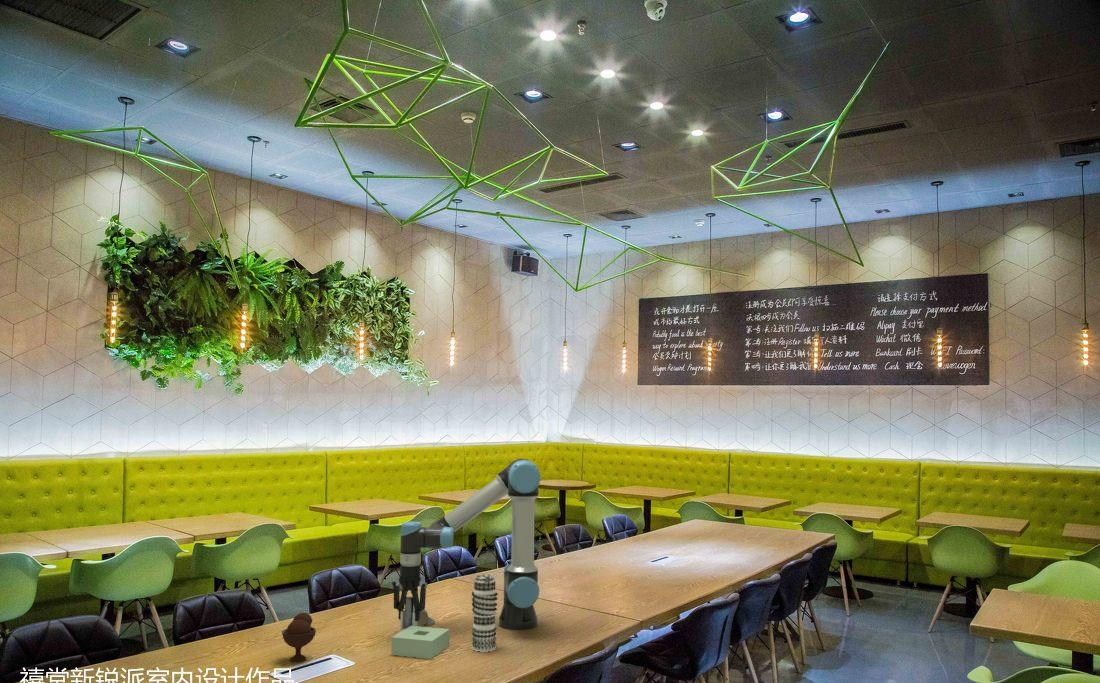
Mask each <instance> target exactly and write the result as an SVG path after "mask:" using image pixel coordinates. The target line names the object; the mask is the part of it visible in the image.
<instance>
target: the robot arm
mask: <svg viewBox="0 0 1100 683" xmlns="http://www.w3.org/2000/svg"><path fill="white" fill-rule="evenodd" d="M495 476H496V478H495V479H493V480H492V481H490V482H489V483H488V484H486V485H485V486H484V487H482V488H481V489H480V490H478V491H477V492H475V493H474V494H472V495H471V496H470V497H467V499H466V500H465V501H463V502H462V503H460V504H459V505H457V506H456V507H455V508H453V509H452V510H451V511H450V510H449V512H448V513H447V514H445V515H444V516H442V517H441V518H440V519H438V520H436V521H433V522H432V523H430V526H428V527H426V526H423V525H422V522H420V521H414V520H413V521H405V522H403V523H402V524H401V528H400V553H399V554H400V556H399V557H400V558H399V563H400V565H399V578H398V579H396V580H394V581H392V588H393V609H395V610H398V617H397V618H398V620H400V622H399V623H400V627H399V628H400V629H399V630H401V631H403V630H404V627H405V597H408V596H407V595H408V593H409V591H410V594H411V597H413V603H414V609H415V611H414V612H413V622H412V626H417V623H418V621H419V619H420V611H422V610H424V609H425V610H426V595H427V594H426V593H427V587H428V584H429V583H428V582H424V581H423V580H422V579H421V561H422V559H421V558H422V555H421V554H422V553H421V552H422V549H447V548H452V547H453V546H454V533H455V532H457V531H458V530H459V529H461V528H462V527H464V526H465V525H467V524H468V523H470V522H471V521H472V520H473V519H475V518H476V517H478V516H479V515H480V514H481V513H483V512H485V511H486V510H487V509H488V508H491V506H493V505H494V504H495V503H497V502H498V501H500V500H501V499H502V498H504V497H505V496H508V497H509V499H510V500H511V551H510V552H511V555H510V556H511V561H510V564H506V565H505V566H504V568H503V605H502V608H501V611H500V614H499V617H498V625H499V627H502V628H504V629H509V630H528V629H531V628H535V627H536V626H537V625H538V616H537V613H536V609H535V606H534V604H535V603H536V602H537V601H538V598H539V595H540V586H539V584H538V583H539V568H538V567H537V566H536V565H535V500H536V499H537V498H538V497H539V491H540V490H539V489H540V488H539V486H540V481H541V473H540V470H539V468H538V466H537V465H536V464H535V463H534V462H532V461H530V460H528V459H525V458H518V459H517V458H516V459H515V460H513V461H511V462H510V463H509V464H507V466H506V467H505V468H503V469H502V470H501V471H500V472H498V473H497V474H496V475H495ZM400 585H401V591H400ZM418 587H419V588H420V589H419V588H418ZM400 592H401V593H400ZM400 594H401V595H400Z"/></svg>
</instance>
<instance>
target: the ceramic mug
mask: <svg viewBox="0 0 1100 683" xmlns="http://www.w3.org/2000/svg"><path fill="white" fill-rule="evenodd" d="M414 611H415V609H414ZM435 622H436V621H435V620H434V618H431V617H430V616H429V614H428V612H427V609H426V608H425V609H424V610H422V611H420V619H419V621H418V623H417V626H421V627H425V625H427V624H428V625H431V626H432V625H434V624H435Z"/></svg>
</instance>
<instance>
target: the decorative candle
mask: <svg viewBox="0 0 1100 683" xmlns="http://www.w3.org/2000/svg"><path fill="white" fill-rule="evenodd" d="M496 581H497V579H496V578H495V577H494V576H493V574H479V575H476V577H475V578H474V579H473V582H474V583H473V584H474V585H473V586H474V587H473V591H471V596H472V598H471V602H472V603H471V605H472V609H471V610H472V616H473V624H472V626H473V627H472V629H471V630H472V633H471V634H472V638H471V640H472V642H471V646H472V647H471V650H472V649H473V650H472V651H474V650H475V651H474V652H477V651H480V652H479V653H489V652H488V651H490V652H493V650H494V651H495V650H496V649H497V647H496V646H497V637H496V635H497V631H496V630H497V628H496V615H497V612H496V611H497V610H498V608H497V606H498V604H497V603H496V601H497V600H498V595H499V594H498V593H497V592H496V591H497V588H496Z"/></svg>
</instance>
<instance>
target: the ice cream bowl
mask: <svg viewBox="0 0 1100 683" xmlns="http://www.w3.org/2000/svg"><path fill="white" fill-rule="evenodd" d="M313 621H314V620H313V618H312V616H311V615H310V614H309V613H307V612H299V613H297V614H296V615H295V616H294V617H293V620H292V621H290V623H289V625H288V626H287V628H285V629H284V630H281V634H282V639H283V640H284V641H283V642H285V643H286V644H287V646H289V647H292V648H293V649H294V648H295V654H294V655H293V656H291V657H289V662H291V663H302V662H303V663H304V662H305V661H306V660H307V658H306V656H305V655H303V654H302V648H303V647H306V646H307V645H308V644H310V643H311V642H312V641H313V640H314V638H315V636H316V632H317V630H316V628H315V627H313V626H312V624H313V623H312V622H313Z"/></svg>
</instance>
